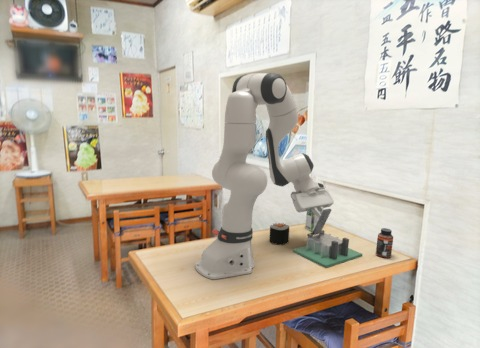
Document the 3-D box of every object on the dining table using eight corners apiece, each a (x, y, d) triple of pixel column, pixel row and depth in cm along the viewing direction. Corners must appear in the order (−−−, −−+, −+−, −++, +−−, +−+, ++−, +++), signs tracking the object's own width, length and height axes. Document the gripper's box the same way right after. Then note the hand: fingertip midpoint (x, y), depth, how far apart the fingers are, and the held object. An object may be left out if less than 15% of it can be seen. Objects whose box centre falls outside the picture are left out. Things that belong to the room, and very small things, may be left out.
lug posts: (334, 259, 134) (335, 242, 133) (330, 257, 136) (331, 241, 134) (347, 255, 139) (349, 239, 137) (343, 253, 140) (345, 237, 139)
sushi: (291, 241, 155) (292, 224, 154) (281, 246, 149) (282, 228, 147) (276, 236, 160) (277, 220, 159) (266, 241, 154) (266, 224, 153)
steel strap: (325, 211, 139) (323, 209, 140) (313, 235, 145) (311, 233, 146) (331, 210, 141) (330, 208, 142) (320, 233, 148) (318, 232, 148)
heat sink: (325, 259, 134) (326, 244, 133) (302, 248, 144) (303, 234, 143) (348, 252, 142) (349, 237, 141) (324, 242, 152) (326, 228, 151)
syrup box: (304, 228, 174) (306, 200, 171) (314, 227, 176) (316, 199, 173) (311, 231, 168) (313, 203, 166) (321, 230, 171) (323, 202, 168)
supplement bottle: (388, 259, 138) (391, 233, 136) (373, 255, 142) (376, 229, 140) (393, 255, 143) (396, 229, 141) (378, 251, 147) (381, 226, 145)
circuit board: (325, 268, 129) (325, 265, 129) (292, 251, 143) (293, 249, 143) (362, 256, 141) (362, 253, 141) (328, 242, 156) (328, 239, 155)
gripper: (293, 188, 141) (308, 217, 135) (326, 183, 153) (342, 210, 147) (285, 196, 146) (299, 224, 140) (318, 191, 157) (333, 217, 151)
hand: (322, 217), depth 143 cm, fingers closed, pressing on steel strap
